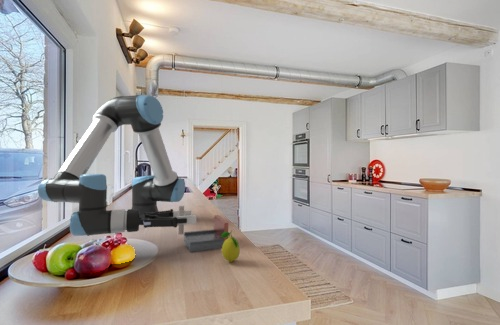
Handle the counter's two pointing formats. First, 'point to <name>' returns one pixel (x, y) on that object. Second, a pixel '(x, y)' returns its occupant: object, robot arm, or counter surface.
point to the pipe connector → (181, 227)
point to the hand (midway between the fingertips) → (193, 216)
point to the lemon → (230, 247)
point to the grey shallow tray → (207, 237)
